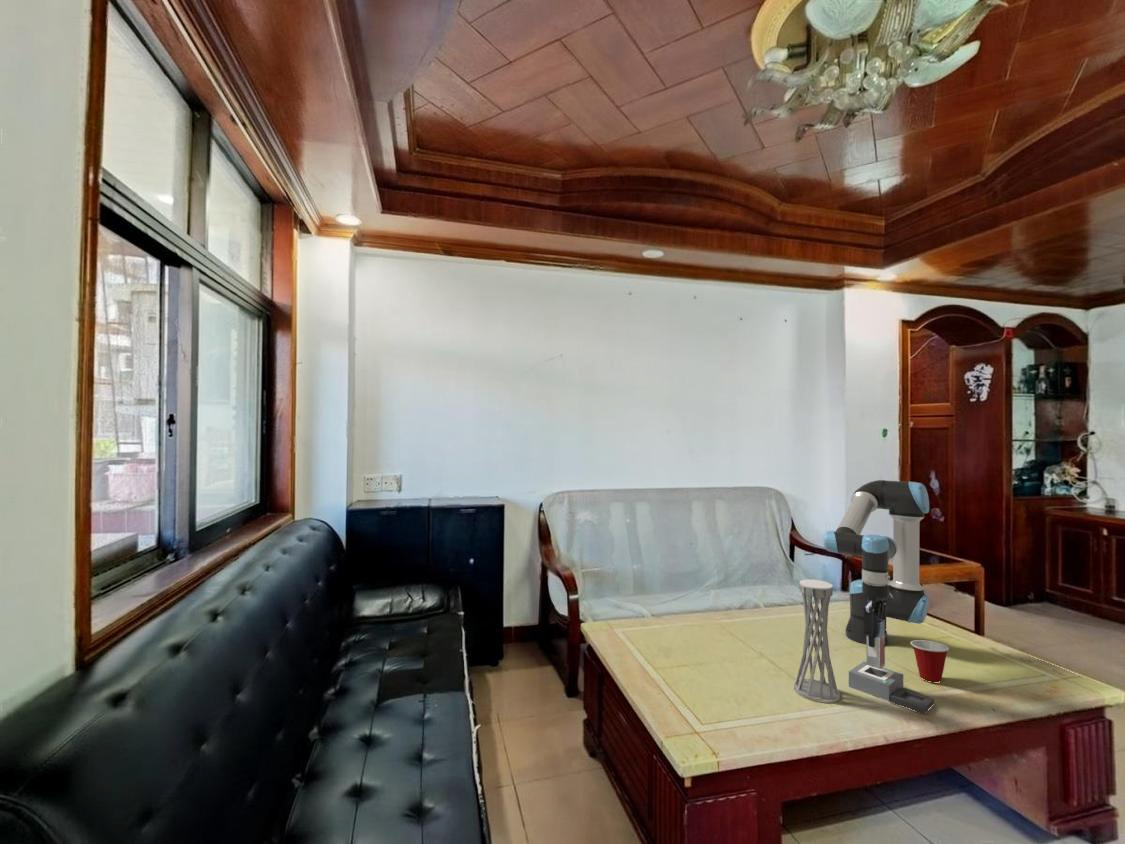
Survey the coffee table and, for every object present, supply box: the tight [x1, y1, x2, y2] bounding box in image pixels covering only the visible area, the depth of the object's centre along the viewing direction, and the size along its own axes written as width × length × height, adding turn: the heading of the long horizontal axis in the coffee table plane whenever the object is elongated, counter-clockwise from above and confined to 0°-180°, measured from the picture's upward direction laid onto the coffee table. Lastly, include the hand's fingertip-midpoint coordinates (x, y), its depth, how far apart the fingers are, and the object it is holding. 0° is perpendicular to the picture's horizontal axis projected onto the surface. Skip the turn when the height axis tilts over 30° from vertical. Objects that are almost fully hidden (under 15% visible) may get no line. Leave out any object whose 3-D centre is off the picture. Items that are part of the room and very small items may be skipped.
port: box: [848, 661, 904, 701], centre depth 171 cm, size 12×12×5 cm
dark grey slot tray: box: [889, 687, 935, 715], centre depth 161 cm, size 9×9×2 cm
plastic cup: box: [910, 639, 950, 682], centre depth 177 cm, size 11×11×12 cm
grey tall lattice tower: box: [793, 578, 841, 704], centre depth 168 cm, size 14×13×35 cm
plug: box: [866, 618, 886, 669], centre depth 171 cm, size 4×4×15 cm
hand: (875, 654), depth 171 cm, fingers closed on plug, 4 cm apart
